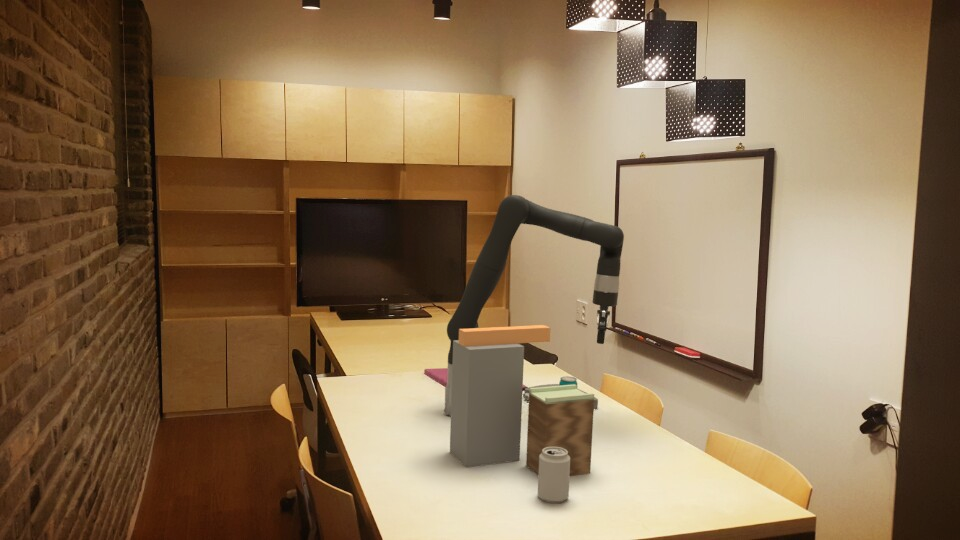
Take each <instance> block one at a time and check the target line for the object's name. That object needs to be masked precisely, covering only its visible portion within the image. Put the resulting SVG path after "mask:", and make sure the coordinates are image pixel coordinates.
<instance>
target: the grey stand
mask: <svg viewBox="0 0 960 540" xmlns="http://www.w3.org/2000/svg"><path fill="white" fill-rule="evenodd" d="M524 361H525V346H524V345H522V344H521V343H517V344H499V345H482V346H465V347H464V346H462V345H460V344H459V340H453V362H452V395H451V416H450V427H449V428H450V432H449V434H450V435H449V440H450V441H449V453H450V454H451V455H452V456H453V457H454V458H455V459H456V460H458V462H459V463H460V464H461V465H463V467H465V468H472V467H479V466H480V467H481V466H486V465H496V464H503V463H509V462H510V463H511V461H512V462H519V460H521V459H520V458H521V456H520V455H521V439H522V438H521V434H522V431H521V429H522V415H523V414H522V411H523V410H522V407H523V391H522V390H523V385H524Z"/></svg>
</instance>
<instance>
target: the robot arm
mask: <svg viewBox="0 0 960 540" xmlns="http://www.w3.org/2000/svg"><path fill="white" fill-rule="evenodd" d="M521 224H522V225H529V226H536V227H541V228H544V229H548V230H550V231H552V232H555V233H558V234H561V235H562V236H566V237H569V238H573V239H576V240H579V241H585V242H589V243H592V244H595V245H599V246H600V248H599V249H600V250H599V256H598V260H597V265H596V274H595V280H594V282H593V283H594V284H593V285H594V286H593V294H592V301H591V302H592V304H593V305H597V306H599V309H597V310H596V311H597V312H596V325H597V327H596V328H597V329H596V330H597V335H596V336H597V337H596V343H597V344H599V345H604V343H605V336H606V331H607V327H608V326H609V320H610V317H611V311H610V310H609V307H611V308H612V307H616V306H618V300H619V299H618V298H619V289H620V274H621V273H620V272H621V258H622V253H623V252H622V251H623V245H624V240H625V234H624V232H623V229H621V228H620V226H617V225H612V224H608V223H604V222H599V221H594V220H593V219H591V218H587V217H585V216H581V215H576V214H573V213H569V212H566V211H560V210H555V209H552V208H548V207H546V206H543V205H542V206H541V205H540V204H537V203H535V202H533V201H531V200H528V199H527V198H525V197H524V196H521V195H517V194H511V195H507V196H506V197H504V198H503V199H502V200H501V201H500V203H499V206H498V208H497V212H496V215H495V218H494V221H493V224H492V228H491V230H490V232H489V234H488V236H487V238H486V240H485V243H484V244H483V246H482V247H481V251H480V252H479V255H478V256H477V258H476V261H475V262H474V265H473V267H472V269H471V273H470V275H469V277H468V280H467V283H466V285H465V289H464V292H463V295H462V297H461V300H460V302H459V303H458V306H457V307H456V310H455V311H454V313H453V315H452V316H451V318H450V320H449V321H448V324H447V326H446V334H447V337H448V340H450V346H449V350H448V354H447V368H448V373H447V385H446V387H445V386H444V387H445V388H444V415H445V416H450V417H451V395H452V362H453V340H459V329H469V328H480V327H479V322H478V320H479V318H480V315H481V312H482V310H483V308H484V307H485V304H486V303H487V301H488V300H489V299H490V297H491V296H492V295H493V293H494V291H495V289H496V287H497V285H498V283H499V282H500V279H501V277H502V275H503V272H504V270H505V268H506V264H507V260H508V256H509V252H510V249H511V248H510V247H511V244H512V241H513V239H514V238H515V235H516V233H517V231H518V229H519V228H520V226H521Z"/></svg>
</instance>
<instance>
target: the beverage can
mask: <svg viewBox="0 0 960 540" xmlns="http://www.w3.org/2000/svg"><path fill="white" fill-rule="evenodd" d="M577 380H578V379H577V377H574V376H561V377H560V380H559V383H558V384H559V386H562V385H573V384H575V385H577V386H578V381H577Z"/></svg>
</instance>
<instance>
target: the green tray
mask: <svg viewBox="0 0 960 540" xmlns="http://www.w3.org/2000/svg"><path fill="white" fill-rule="evenodd" d="M528 388H529V387H528ZM578 389H579V388H578V384H577V385H575V384H573V385H562V386H550V387H538V388H529V394H531V395H532V396H534V397H536V398H537V399H539V400H541V401H542V402H544V403H546V404H555V403H565V402H575V401H586V400H594V397H595V393H593V392H590V393H588V394H586V393H587V392H586V393H584V392H585V391H584V392H582V391H583V390H582V391H580V390H581V389H579V390H578Z"/></svg>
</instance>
